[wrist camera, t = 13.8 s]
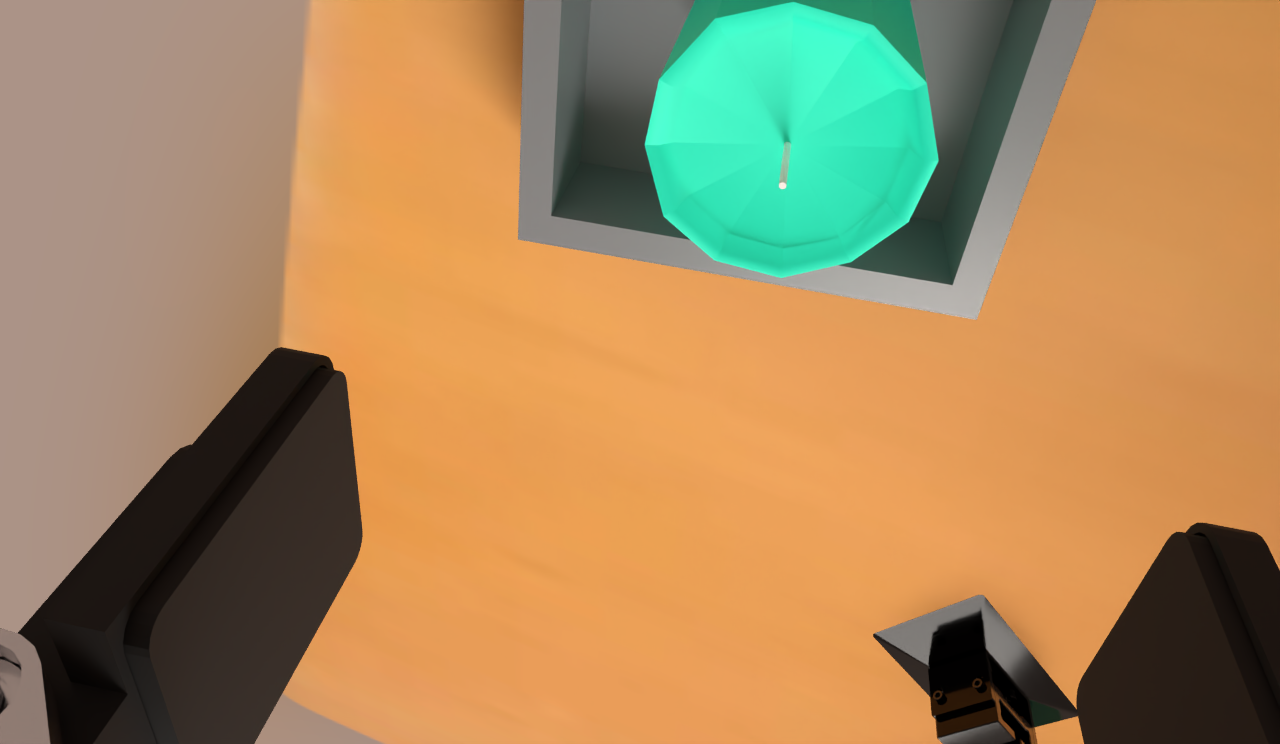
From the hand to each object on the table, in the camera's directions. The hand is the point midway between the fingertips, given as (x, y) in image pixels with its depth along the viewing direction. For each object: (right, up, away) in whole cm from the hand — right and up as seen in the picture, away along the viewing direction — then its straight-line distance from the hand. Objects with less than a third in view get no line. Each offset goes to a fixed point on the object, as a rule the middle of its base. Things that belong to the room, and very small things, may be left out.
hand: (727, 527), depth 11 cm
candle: (+4, +12, +17) cm, 22 cm away
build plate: (+15, -12, +35) cm, 40 cm away
